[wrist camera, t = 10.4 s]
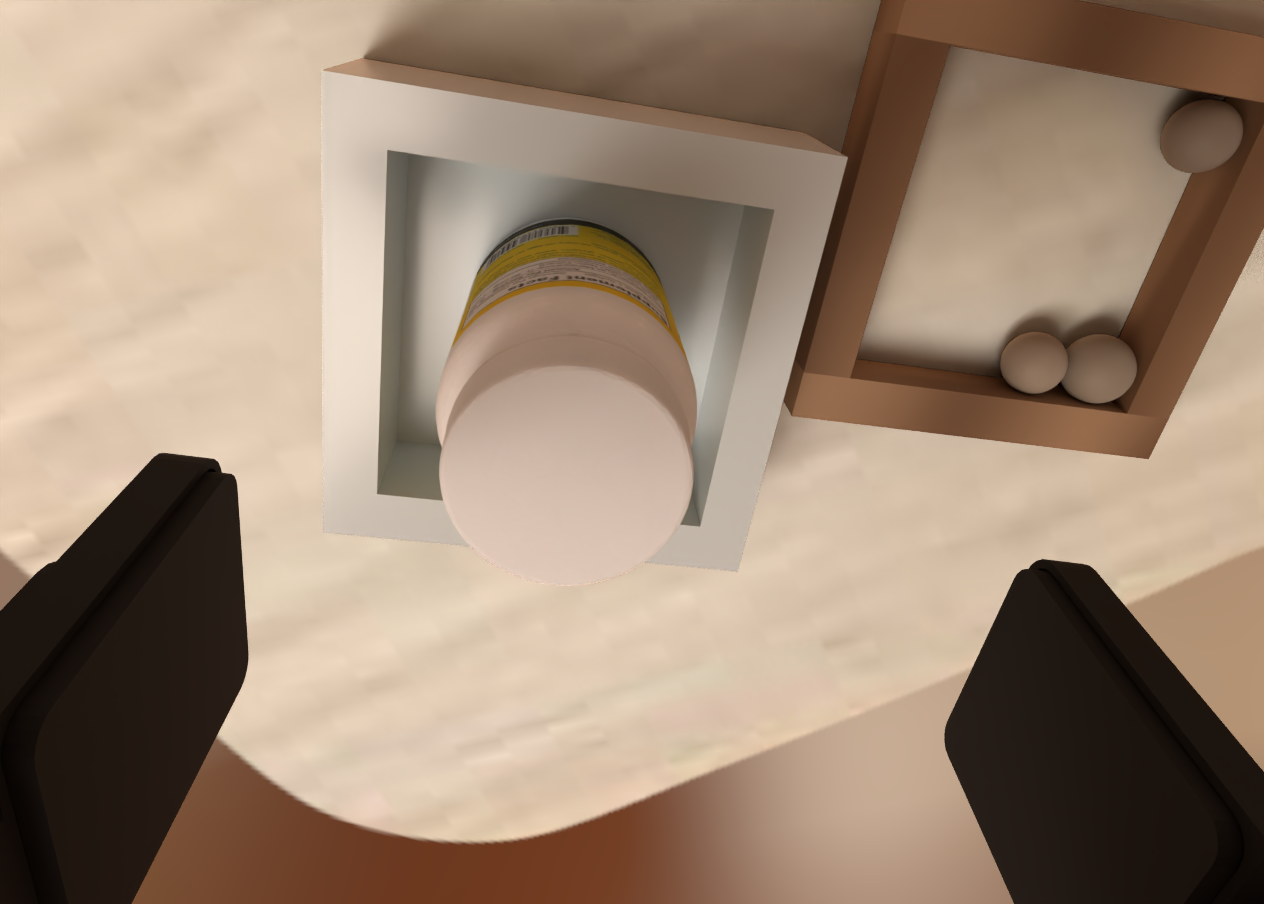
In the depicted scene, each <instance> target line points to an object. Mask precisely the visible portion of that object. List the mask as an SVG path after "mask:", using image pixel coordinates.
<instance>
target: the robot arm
mask: <svg viewBox="0 0 1264 904" xmlns="http://www.w3.org/2000/svg"><path fill="white" fill-rule="evenodd" d="M247 666H248V640H247V625H246V610H245V595H244V580H243V565H242V550H241V535H240V520H239V506H238V491H237V482H236V479H235V477H234V476H233V475H232V474H227V473H222V472H221V468H220V465H219V463H218V462H217V461H216V460H215V459H210V458H202V457H193V456H185V455H177V454H168V453H159V454H158V455H156V456H155V457H154V458H153V459H152V460H151V461H150V462H149V463H148V464H147V465H146V466H145V467H144V468H143V469H142V470H141V472H140V473H139V474H138V475H137V476H136V477H135V478H134V479H133V480H132V481H131V482H130V483H129V484H128V485H127V487H126V488H125V489H124V490H123V491H122V492H121V493H120V494H119V495H118V496H117V497H116V498H115V499H114V500H113V501H112V503H111V504H110V505H109V506H108V507H107V508H106V509H105V510H104V511H103V512H102V513H101V514H100V515H99V516H98V518H97V519H96V520H95V521H94V522H93V523H92V524H91V525H90V526H89V527H88V528H87V529H86V530H85V531H84V532H83V534H82V535H81V536H80V537H79V538H78V539H77V540H76V541H75V542H74V543H73V544H72V545H71V546H70V547H69V549H68V550H67V551H66V552H65V553H64V554H63V555H62V556H61V557H60V558H59V559H58V560H57V561H56V562H52V563H49V564H47V565H46V566H45V567H43V568H42V569H41V570H40V571H38V572H37V573H36V574H35V575H34V576H33V577H32V578H31V579H30V580H29V581H28V583H27V584H26V585H25V586H24V587H23V588H22V589H21V590H20V591H19V592H18V593H17V594H16V595H15V596H14V597H13V598H12V599H11V600H10V602H9V603H8V604H7V605H6V606H5V607H4V608H3V609H2V610H1V611H0V904H131V903H132V902H133V900H134V898H135V896H136V894H137V892H138V890H139V888H140V886H141V884H142V882H143V880H144V878H145V876H146V874H147V872H148V870H149V868H150V866H151V864H152V862H153V860H154V858H155V856H156V854H157V852H158V850H159V849H160V847H161V845H162V842H163V841H164V839H165V837H166V835H167V833H168V831H169V829H170V827H171V825H172V823H173V821H174V819H175V817H176V815H177V813H178V811H179V809H180V807H181V805H182V803H183V801H184V799H185V797H186V795H187V793H188V791H189V789H190V788H191V786H192V784H193V782H194V780H195V778H196V776H197V774H198V772H199V770H200V768H201V766H202V764H203V762H204V760H205V758H206V756H207V754H208V752H209V750H210V748H211V746H212V744H213V742H214V740H215V738H216V736H217V734H218V732H219V730H220V728H221V726H222V724H223V723H224V721H225V719H226V717H227V715H228V713H229V711H230V709H231V707H232V705H233V703H234V701H235V699H236V697H237V695H238V693H239V691H240V689H241V687H242V684H243V682H244V679H245V675H246V671H247ZM945 747H946V751H947V754H948V757H949V759H950V761H951V763H952V766H953V768H954V770H955V772H956V774H957V777H958V779H959V781H960V783H961V786H962V788H963V790H964V792H965V794H966V797H967V799H968V801H969V804H970V806H971V808H972V810H973V812H974V815H975V817H976V819H977V821H978V824H979V826H980V828H981V830H982V833H983V835H984V837H985V839H986V842H987V843H988V846H989V848H990V850H991V853H992V855H993V857H994V859H995V862H996V864H997V866H998V868H999V871H1000V873H1001V875H1002V877H1003V880H1004V882H1005V884H1006V886H1007V889H1008V891H1009V893H1010V895H1011V897H1012V900H1013V902H1014V904H1264V772H1263V770H1262V769H1261V768H1260V767H1259V766H1258V764H1257V763H1256V762H1255V761H1254V760H1253V758H1252V757H1251V756H1250V755H1249V754H1248V753H1247V751H1246V750H1245V749H1244V748H1243V747H1242V745H1241V744H1240V743H1239V742H1238V741H1237V739H1236V738H1235V737H1234V736H1233V735H1232V734H1231V732H1230V731H1229V730H1228V729H1227V727H1226V726H1225V725H1224V724H1223V723H1222V721H1221V720H1220V719H1219V718H1218V717H1217V715H1216V714H1215V713H1214V712H1213V711H1212V709H1211V708H1210V707H1209V706H1208V705H1207V703H1206V702H1205V701H1204V700H1203V699H1202V698H1201V696H1200V695H1199V694H1198V693H1197V692H1196V690H1195V689H1194V688H1193V687H1192V686H1191V684H1190V683H1189V682H1188V681H1187V680H1186V678H1185V677H1184V676H1183V675H1182V674H1181V672H1180V671H1179V670H1178V669H1177V668H1176V666H1175V665H1174V664H1173V663H1172V662H1171V661H1170V659H1169V658H1168V657H1167V656H1166V655H1165V653H1164V652H1163V651H1162V650H1161V649H1160V647H1159V646H1158V645H1157V644H1156V642H1154V640H1153V639H1152V638H1151V636H1150V635H1149V634H1148V633H1147V632H1146V630H1145V629H1144V628H1143V627H1142V626H1141V624H1140V623H1139V622H1138V621H1137V620H1136V619H1135V617H1134V616H1133V615H1132V614H1131V613H1130V611H1129V610H1128V609H1127V608H1126V607H1125V605H1124V604H1123V603H1122V602H1121V601H1120V599H1119V598H1118V597H1117V596H1116V595H1115V593H1114V592H1113V591H1112V590H1111V589H1110V587H1109V586H1108V585H1107V584H1106V583H1105V581H1104V580H1103V579H1102V578H1101V577H1100V575H1099V574H1098V573H1097V572H1096V571H1095V570H1094V569H1093V568H1092V567H1090V566H1088V565H1085V564H1078V563H1070V562H1062V561H1054V560H1045V559H1042V560H1038V561H1036V562H1035V563H1033V564H1032V565H1031V566H1030V568H1029V569H1024V570H1021V571H1020V572H1019V573H1018V574H1017V575H1016V577H1015V578H1014V580H1013V583H1012V585H1011V587H1010V589H1009V591H1008V593H1007V595H1006V597H1005V600H1004V602H1003V604H1002V606H1001V608H1000V610H999V612H998V615H997V617H996V619H995V621H994V623H993V625H992V627H991V629H990V632H989V634H988V636H987V638H986V640H985V642H984V644H983V647H982V649H981V651H980V653H979V655H978V657H977V659H976V661H975V664H974V666H973V668H972V670H971V672H970V674H969V676H968V679H967V681H966V683H965V685H964V687H963V689H962V692H961V694H960V696H959V698H958V700H957V702H956V704H955V707H954V709H953V711H952V713H951V715H950V717H949V719H948V721H947V724H946V727H945Z"/></svg>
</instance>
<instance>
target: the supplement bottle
mask: <svg viewBox="0 0 1264 904" xmlns="http://www.w3.org/2000/svg"><path fill="white" fill-rule="evenodd" d="M696 422H697V396H696V389H695V383H694V379H693V376H692V372H691V369H690V366H689V363H688V360H687V357H686V353H685V350H684V348H683V345H682V342H681V339H680V335H679V333H678V331H677V328H676V324H675V321H674V318H673V315H672V312H671V309H670V306H669V303H668V300H667V297H666V294H665V292H664V289H663V286H662V284H661V281H660V278H659V276H658V274H657V272H656V270H655V269H654V267H653V265H652V264H651V262H650V261H649V259H648V258H647V257H646V255H645V254H644V253H643V252H642V250H641V249H640V248H639V247H638V246H637V245H635V244H634V243H633V242H632V241H631V240H630V239H629V238H627V237H626V236H624V235H623V234H621V233H620V232H618V231H616V230H614V229H613V228H611V227H608V226H606V225H603V224H601V223H598V222H595V221H591V220H587V219H580V218H568V217H566V218H552V219H545V220H541V221H538V222H535V223H531V224H529V225H527V226H524V227H522V228H520V229H518V230H517V231H515V232H513V233H512V234H510V235H509V236H507V237H506V238H504V239H503V240H502V241H501V242H500V243H499V244H498V245H497V246H496V247H495V248H494V249H493V250H492V251H491V252H490V253H489V254H488V256H487V257H486V259H485V260H484V262H483V263H482V265H481V266H480V268H479V270H478V272H477V274H476V276H475V279H474V281H473V284H472V288H471V291H470V294H469V297H468V299H467V302H466V305H465V308H464V311H463V314H462V317H461V321H460V323H459V326H458V329H457V332H456V334H455V337H454V340H453V343H452V346H451V349H450V352H449V355H448V357H447V360H446V363H445V366H444V369H443V372H442V375H441V379H440V383H439V387H438V392H437V398H436V424H437V431H438V436H439V440H440V443H441V447H442V450H441V456H440V463H439V480H440V488H441V494H442V498H443V501H444V504H445V508H446V511H447V513H448V515H449V517H450V519H451V521H452V523H453V525H454V526H455V528H456V529H457V531H458V532H459V534H460V535H461V536H462V538H463V539H464V540H465V542H466V543H467V544H468V545H469V546H470V547H471V548H472V549H473V550H474V551H475V552H476V553H477V554H479V555H480V556H481V557H482V558H484V559H485V560H486V561H488V562H489V563H491V564H493V565H494V566H496V567H498V568H499V569H501V570H503V571H505V572H507V573H509V574H511V575H514V576H516V577H519V578H522V579H525V580H528V581H532V582H536V583H541V584H547V585H554V586H580V585H587V584H593V583H599V582H602V581H605V580H608V579H612V578H615V577H618V576H620V575H623V574H625V573H627V572H629V571H631V570H633V569H635V568H637V567H638V566H640V565H642V564H643V563H645V562H646V561H647V560H649V559H650V558H652V557H653V556H654V555H655V554H656V553H657V552H659V550H660V549H661V548H662V547H663V546H664V545H665V544H666V543H667V542H668V541H669V540H670V538H671V537H672V536H673V535H674V533H675V532H676V530H677V529H678V527H679V525H680V524H681V522H682V520H683V518H684V516H685V513H686V511H687V509H688V506H689V503H690V499H691V495H692V490H693V483H694V462H693V455H692V450H691V445H692V442H693V438H694V435H695V430H696Z"/></svg>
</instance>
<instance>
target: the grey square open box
mask: <svg viewBox="0 0 1264 904" xmlns="http://www.w3.org/2000/svg"><path fill="white" fill-rule="evenodd" d="M847 159H848V157H847V156H845V155H843V154H841V153H840V152H838V151H836V150H834V149H832V148H831V147H829V146H827V145H825V144H824V143H822V142H820V141H818V140H816V139H815V138H813V137H811V136H809V135H807V134H806V133H804V132H798V131H792V130H786V129H780V128H774V127H768V126H762V125H756V124H750V123H744V122H738V121H732V120H726V119H720V118H714V117H708V116H702V115H697V114H691V113H685V112H679V111H673V110H667V109H661V108H655V107H649V106H643V105H637V104H631V103H625V102H619V101H613V100H607V99H601V98H595V97H589V96H583V95H577V94H571V93H565V92H560V91H554V90H548V89H542V88H536V87H530V86H524V85H518V84H512V83H506V82H500V81H494V80H488V79H482V78H476V77H470V76H464V75H458V74H452V73H446V72H440V71H434V70H428V69H423V68H417V67H411V66H405V65H399V64H393V63H387V62H381V61H375V60H369V59H363V58H361V59H358V60H354V61H351V62H348V63H344V64H341V65H337V66H334V67H331V68H327V69H324V70H321V162H322V419H323V533H330V534H341V535H351V536H362V537H373V538H383V539H394V540H405V541H415V542H426V543H437V544H447V545H458V546H469V545H468V544H467V543H466V542H465V540H464V539H463V538H462V536H461V535H460V534H459V532H458V531H457V529H456V528H455V526H454V525H453V523H452V521H451V519H450V517H449V515H448V513H447V511H446V508H445V504H444V501H443V498H442V494H441V488H440V480H439V463H440V456H441V450H442V447H441V443H440V440H439V436H438V431H437V424H436V398H437V392H438V387H439V383H440V379H441V375H442V372H443V369H444V366H445V363H446V360H447V357H448V355H449V352H450V349H451V346H452V343H453V340H454V337H455V334H456V332H457V329H458V326H459V323H460V321H461V317H462V314H463V311H464V308H465V305H466V302H467V299H468V297H469V294H470V291H471V288H472V284H473V281H474V279H475V276H476V274H477V272H478V270H479V268H480V266H481V265H482V263H483V262H484V260H485V259H486V257H487V256H488V254H489V253H490V252H491V251H492V250H493V249H494V248H495V247H496V246H497V245H498V244H499V243H500V242H501V241H502V240H503V239H504V238H506V237H507V236H509V235H510V234H512V233H513V232H515V231H517V230H518V229H520V228H522V227H524V226H527V225H529V224H531V223H535V222H538V221H541V220H545V219H552V218H566V217H568V218H580V219H587V220H591V221H595V222H598V223H601V224H603V225H606V226H608V227H611V228H613V229H614V230H616V231H618V232H620V233H621V234H623V235H624V236H626V237H627V238H629V239H630V240H631V241H632V242H633V243H634V244H635V245H637V246H638V247H639V248H640V249H641V250H642V252H643V253H644V254H645V255H646V257H647V258H648V259H649V261H650V262H651V264H652V265H653V267H654V269H655V270H656V272H657V274H658V276H659V278H660V281H661V284H662V286H663V289H664V292H665V294H666V297H667V300H668V303H669V306H670V309H671V312H672V315H673V318H674V321H675V324H676V328H677V331H678V333H679V335H680V339H681V342H682V345H683V348H684V350H685V353H686V357H687V360H688V363H689V366H690V369H691V372H692V376H693V379H694V383H695V389H696V396H697V422H696V430H695V435H694V438H693V442H692V445H691V450H692V455H693V462H694V483H693V490H692V495H691V499H690V503H689V506H688V509H687V511H686V513H685V516H684V518H683V520H682V522H681V524H680V525H679V527H678V529H677V530H676V532H675V533H674V535H673V536H672V537H671V538H670V540H669V541H668V542H667V543H666V544H665V545H664V546H663V547H662V548H661V549H660V550H659V552H657V553H656V554H655V555H654V556H653V557H652V558H650V559H649V560H647V561H646V562H645V563H650V564H660V565H671V566H682V567H692V568H703V569H714V570H724V571H735V572H738V569H739V565H740V561H741V558H742V554H743V550H744V546H745V542H746V539H747V535H748V531H749V527H750V524H751V520H752V516H753V512H754V509H755V505H756V501H757V497H758V494H759V490H760V486H761V482H762V479H763V475H764V471H765V467H766V464H767V460H768V456H769V452H770V449H771V445H772V441H773V437H774V433H775V430H776V426H777V422H778V418H779V415H780V411H781V407H782V403H783V400H784V396H785V392H786V388H787V385H788V381H789V377H790V373H791V370H792V366H793V362H794V358H795V355H796V351H797V347H798V343H799V340H800V336H801V332H802V328H803V324H804V321H805V317H806V313H807V309H808V306H809V302H810V298H811V294H812V291H813V287H814V283H815V279H816V276H817V272H818V268H819V264H820V261H821V257H822V253H823V249H824V246H825V242H826V238H827V234H828V230H829V227H830V223H831V219H832V215H833V212H834V208H835V204H836V200H837V197H838V193H839V189H840V185H841V182H842V178H843V174H844V170H845V167H846V163H847ZM469 547H470V546H469Z"/></svg>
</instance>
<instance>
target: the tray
mask: <svg viewBox="0 0 1264 904" xmlns="http://www.w3.org/2000/svg"><path fill="white" fill-rule="evenodd" d="M950 46H955V47H960V48H965V49H971V50H976V51H981V52H987V53H992V54H998V55H1003V56H1008V57H1014V58H1019V59H1024V60H1030V61H1035V62H1040V63H1046V64H1051V65H1056V66H1062V67H1067V68H1072V69H1078V70H1083V71H1088V72H1094V73H1099V74H1105V75H1110V76H1115V77H1121V78H1126V79H1131V80H1137V81H1142V82H1147V83H1153V84H1158V85H1163V86H1169V87H1174V88H1179V89H1185V90H1190V91H1196V92H1201V93H1206V94H1212V95H1217V96H1222V97H1226V99H1225V102H1224V101H1220V100H1215V99H1204V100H1198V101H1195V102H1192V103H1190V104H1187V105H1185V106H1184V107H1182V108H1180V109H1179V110H1178V111H1176V112H1175V113H1174V114H1173V115H1172V116H1171V117H1170V119H1169V120H1168V121H1167V123H1166V124H1165V126H1164V128H1163V131H1162V134H1161V138H1160V148H1161V152H1162V155H1163V157H1164V159H1165V160H1166V161H1167V163H1169V164H1170V165H1171V166H1172V167H1174V168H1175V169H1177V170H1180V171H1183V172H1188V173H1192V176H1191V178H1190V180H1189V182H1188V185H1187V187H1186V189H1185V191H1184V194H1183V196H1182V198H1181V200H1180V202H1179V205H1178V207H1177V209H1176V211H1175V214H1174V216H1173V218H1172V220H1171V223H1170V225H1169V227H1168V229H1167V232H1166V234H1165V236H1164V238H1163V241H1162V243H1161V245H1160V247H1159V250H1158V252H1157V254H1156V256H1155V259H1154V261H1153V263H1152V265H1151V267H1150V270H1149V272H1148V274H1147V276H1146V279H1145V281H1144V283H1143V285H1142V288H1141V290H1140V292H1139V294H1138V297H1137V299H1136V301H1135V303H1134V306H1133V308H1132V310H1131V312H1130V315H1129V317H1128V319H1127V321H1126V323H1125V326H1124V328H1123V330H1122V332H1121V335H1120V337H1119V339H1118V338H1116V337H1114V336H1110V335H1106V334H1094V335H1088V336H1085V337H1083V338H1080V339H1078V340H1077V341H1075V342H1074V343H1072V344H1071V345H1070V346H1069V347H1068V348H1067V349H1065V348H1064V346H1063V344H1062V343H1061V342H1060V341H1059V340H1058V339H1056V338H1055V337H1053V336H1051V335H1049V334H1047V333H1043V332H1029V333H1025V334H1022V335H1019V336H1018V337H1016V338H1014V339H1013V340H1012V341H1011V342H1010V343H1009V344H1008V345H1007V346H1006V347H1005V349H1004V351H1003V353H1002V355H1001V360H1000V369H1001V373H1002V375H1003V377H1004V378H997V377H989V376H981V375H974V374H966V373H958V372H951V371H943V370H936V369H928V368H920V367H913V366H905V365H898V364H890V363H882V362H875V361H867V360H860V359H856V357H857V353H858V350H859V347H860V343H861V340H862V337H863V333H864V330H865V327H866V323H867V320H868V317H869V314H870V310H871V307H872V304H873V300H874V297H875V294H876V290H877V287H878V284H879V280H880V277H881V274H882V270H883V267H884V264H885V260H886V257H887V254H888V250H889V247H890V244H891V240H892V237H893V234H894V231H895V227H896V224H897V221H898V217H899V214H900V211H901V207H902V204H903V201H904V197H905V194H906V191H907V187H908V184H909V181H910V177H911V174H912V171H913V167H914V164H915V161H916V157H917V154H918V151H919V148H920V144H921V141H922V138H923V134H924V131H925V128H926V124H927V121H928V118H929V114H930V111H931V108H932V104H933V101H934V98H935V94H936V91H937V88H938V84H939V81H940V78H941V74H942V71H943V68H944V65H945V61H946V58H947V55H948V51H949V48H950ZM841 154H843V155H845V156H847V157H848V159H847V163H846V167H845V170H844V174H843V178H842V182H841V185H840V189H839V193H838V197H837V200H836V204H835V208H834V212H833V215H832V219H831V223H830V227H829V230H828V234H827V238H826V242H825V246H824V249H823V253H822V257H821V261H820V264H819V268H818V272H817V276H816V279H815V283H814V287H813V291H812V294H811V298H810V302H809V306H808V309H807V313H806V317H805V321H804V324H803V328H802V332H801V336H800V340H799V343H798V347H797V351H796V355H795V358H794V362H793V366H792V370H791V373H790V377H789V381H788V385H787V388H786V392H785V396H784V400H783V401H784V403H785V404H786V406H787V408H788V410H789V412H790V414H791V415H792V416H796V417H804V418H812V419H821V420H829V421H837V422H846V423H854V424H862V425H871V426H879V427H887V428H895V429H904V430H912V431H920V432H929V433H937V434H945V435H953V436H962V437H970V438H978V439H987V440H995V441H1003V442H1012V443H1020V444H1028V445H1036V446H1045V447H1053V448H1061V449H1070V450H1078V451H1086V452H1094V453H1103V454H1111V455H1119V456H1128V457H1136V458H1144V459H1149V457H1150V455H1151V453H1152V451H1153V449H1154V447H1155V445H1156V443H1157V441H1158V439H1159V437H1160V435H1161V433H1162V431H1163V429H1164V427H1165V425H1166V423H1167V421H1168V419H1169V417H1170V415H1171V413H1172V411H1173V409H1174V407H1175V405H1176V403H1177V401H1178V399H1179V397H1180V395H1181V393H1182V391H1183V389H1184V387H1185V385H1186V383H1187V381H1188V379H1189V377H1190V375H1191V373H1192V371H1193V369H1194V367H1195V365H1196V363H1197V361H1198V359H1199V357H1200V355H1201V353H1202V351H1203V349H1204V347H1205V345H1206V343H1207V341H1208V339H1209V337H1210V335H1211V333H1212V331H1213V329H1214V327H1215V325H1216V323H1217V321H1218V319H1219V317H1220V314H1221V312H1222V310H1223V308H1224V306H1225V304H1226V302H1227V300H1228V298H1229V296H1230V294H1231V292H1232V290H1233V288H1234V286H1235V284H1236V282H1237V280H1238V278H1239V276H1240V274H1241V272H1242V270H1243V268H1244V266H1245V264H1246V262H1247V260H1248V258H1249V256H1250V254H1251V252H1252V250H1253V248H1254V246H1255V244H1256V242H1257V240H1258V238H1259V236H1260V234H1261V232H1262V230H1263V228H1264V37H1260V36H1255V35H1250V34H1245V33H1240V32H1235V31H1230V30H1224V29H1219V28H1214V27H1209V26H1204V25H1199V24H1194V23H1189V22H1184V21H1179V20H1174V19H1169V18H1164V17H1159V16H1154V15H1149V14H1144V13H1139V12H1134V11H1129V10H1124V9H1119V8H1114V7H1109V6H1104V5H1099V4H1094V3H1089V2H1084V1H1079V0H881V4H880V7H879V11H878V15H877V19H876V23H875V26H874V30H873V34H872V38H871V42H870V46H869V49H868V53H867V57H866V61H865V65H864V68H863V72H862V76H861V80H860V84H859V88H858V91H857V95H856V99H855V103H854V107H853V110H852V114H851V118H850V122H849V126H848V130H847V133H846V137H845V141H844V145H843V149H842V152H841ZM1060 381H1061V384H1062V385H1063V386H1057V384H1059V383H1060Z"/></svg>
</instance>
